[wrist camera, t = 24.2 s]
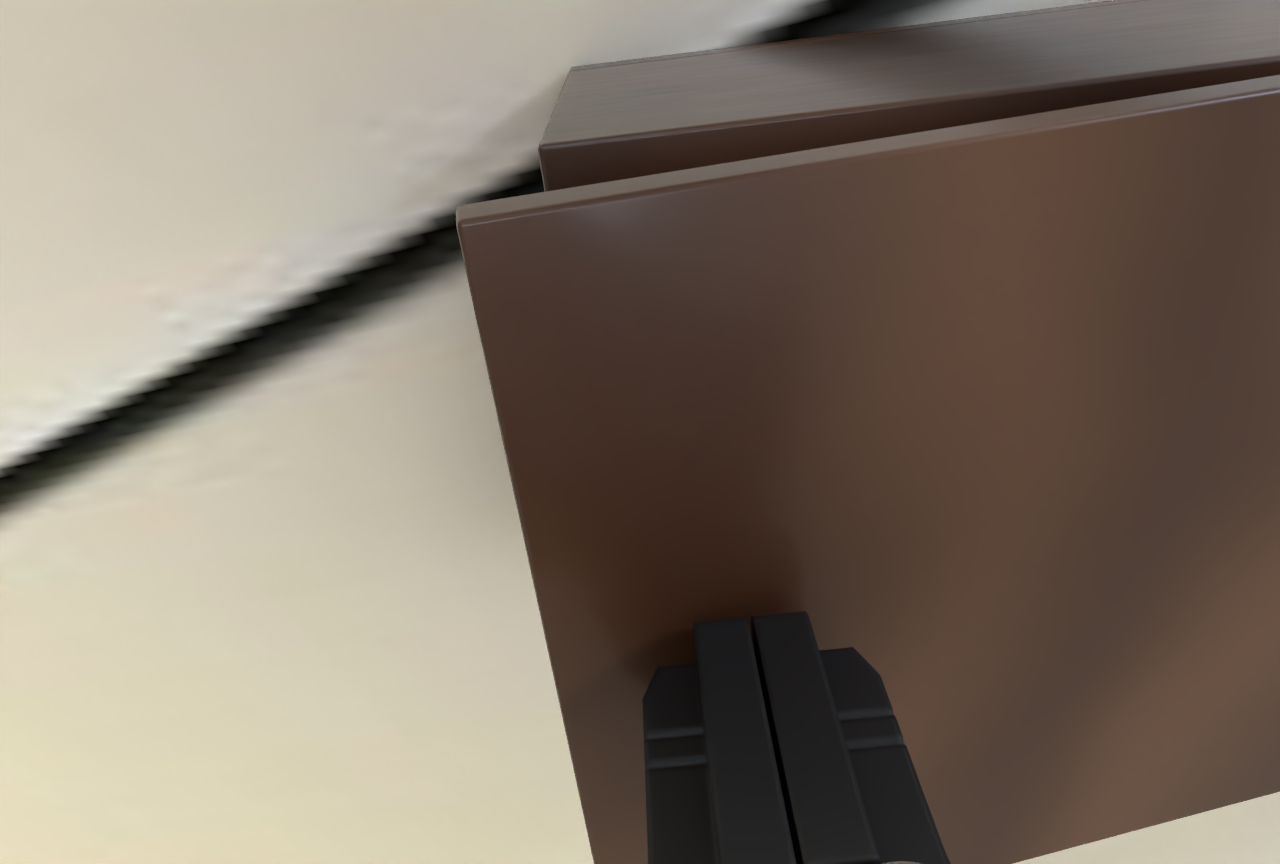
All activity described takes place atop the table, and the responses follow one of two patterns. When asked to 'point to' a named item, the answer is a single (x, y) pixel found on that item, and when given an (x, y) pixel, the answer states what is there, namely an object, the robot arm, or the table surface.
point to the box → (892, 83)
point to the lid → (921, 449)
